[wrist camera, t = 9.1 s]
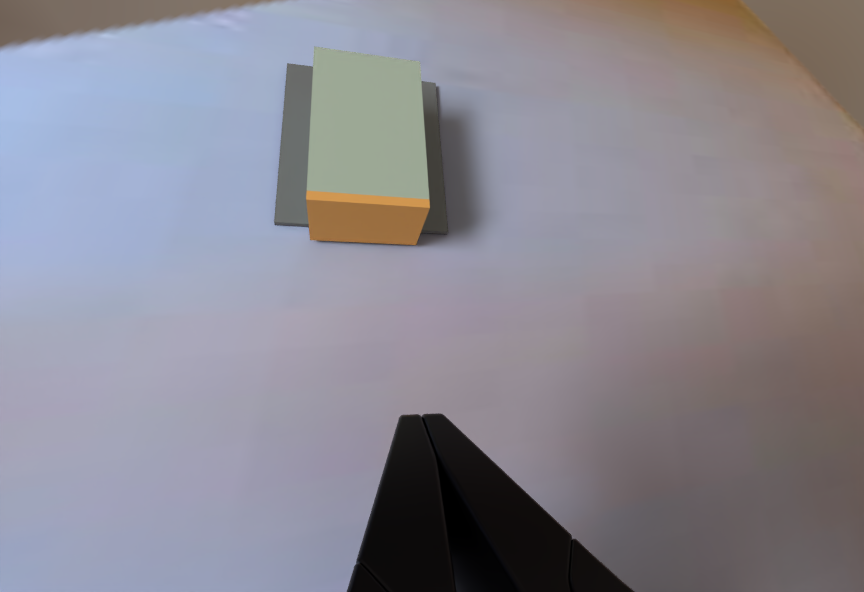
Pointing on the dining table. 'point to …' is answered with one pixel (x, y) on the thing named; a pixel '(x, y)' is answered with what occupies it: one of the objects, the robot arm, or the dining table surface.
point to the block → (366, 149)
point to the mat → (297, 150)
